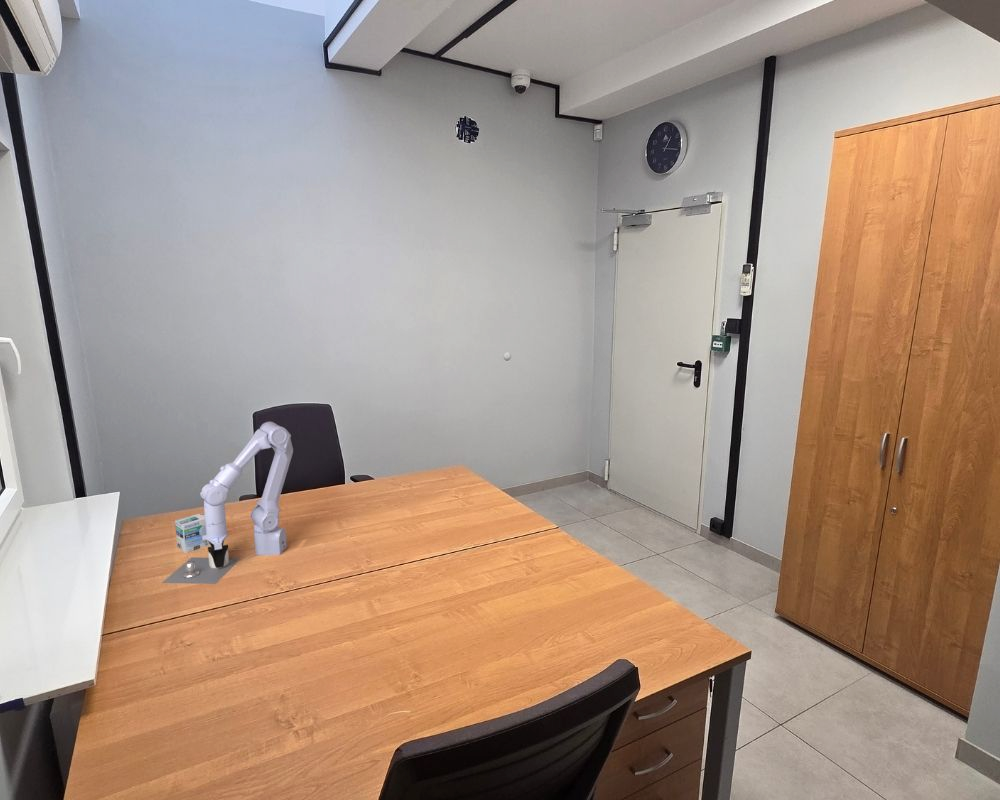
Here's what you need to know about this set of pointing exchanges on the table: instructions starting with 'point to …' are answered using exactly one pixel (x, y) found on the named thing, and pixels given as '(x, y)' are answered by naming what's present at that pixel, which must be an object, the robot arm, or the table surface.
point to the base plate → (201, 572)
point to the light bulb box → (191, 533)
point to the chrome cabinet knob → (190, 570)
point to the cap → (211, 562)
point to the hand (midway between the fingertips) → (218, 561)
